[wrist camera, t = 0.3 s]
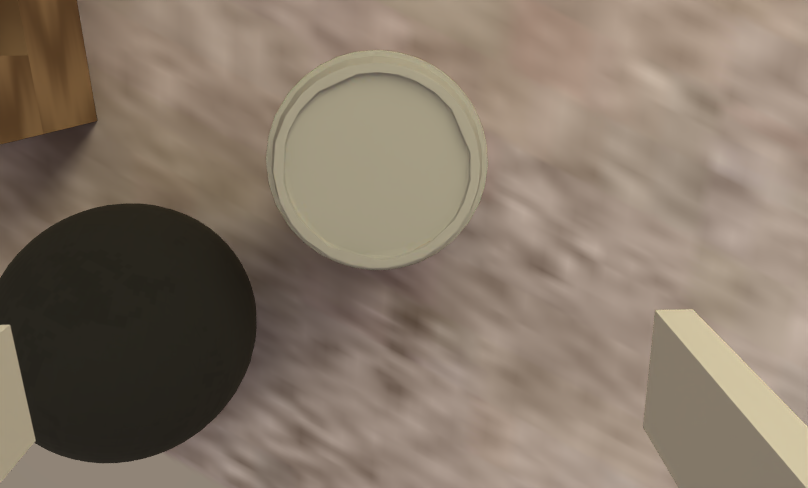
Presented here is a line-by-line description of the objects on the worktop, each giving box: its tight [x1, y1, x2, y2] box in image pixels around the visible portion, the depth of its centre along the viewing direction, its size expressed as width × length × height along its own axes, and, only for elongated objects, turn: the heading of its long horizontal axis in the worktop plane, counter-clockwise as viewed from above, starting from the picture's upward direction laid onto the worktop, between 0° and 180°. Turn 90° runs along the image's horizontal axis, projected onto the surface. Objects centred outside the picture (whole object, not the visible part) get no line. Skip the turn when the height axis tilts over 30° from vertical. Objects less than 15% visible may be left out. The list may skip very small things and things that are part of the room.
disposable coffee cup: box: [266, 50, 488, 270], centre depth 35 cm, size 10×10×12 cm
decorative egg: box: [0, 204, 256, 463], centre depth 35 cm, size 12×12×15 cm
